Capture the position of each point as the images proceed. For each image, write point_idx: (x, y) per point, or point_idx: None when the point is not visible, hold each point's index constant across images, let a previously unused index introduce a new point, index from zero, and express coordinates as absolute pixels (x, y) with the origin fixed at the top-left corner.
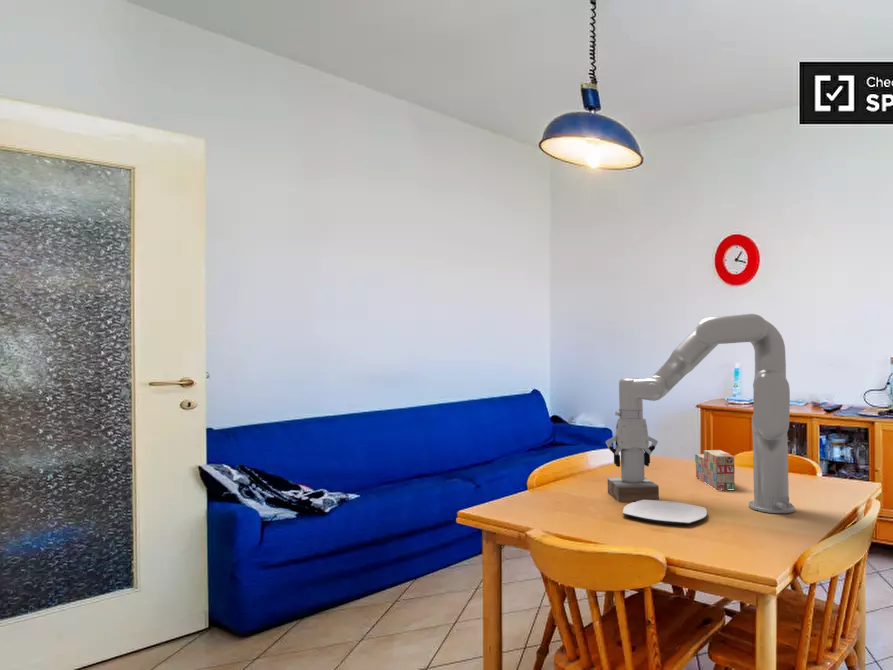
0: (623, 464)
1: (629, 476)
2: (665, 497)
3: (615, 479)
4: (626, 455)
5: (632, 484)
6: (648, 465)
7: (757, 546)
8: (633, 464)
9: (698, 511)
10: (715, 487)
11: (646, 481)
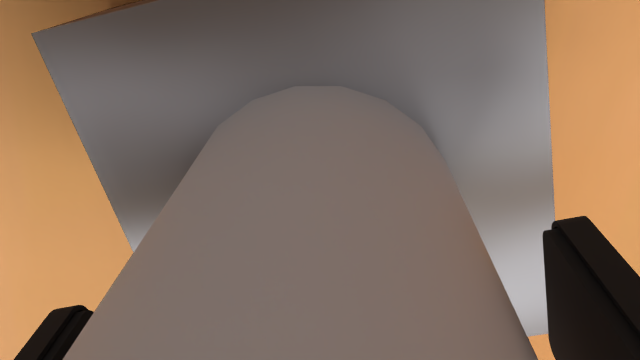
0: (487, 259)
1: (375, 112)
2: (67, 153)
3: None
4: (487, 349)
5: (339, 54)
6: (56, 309)
7: None
8: (305, 181)
9: None
10: None
11: None
